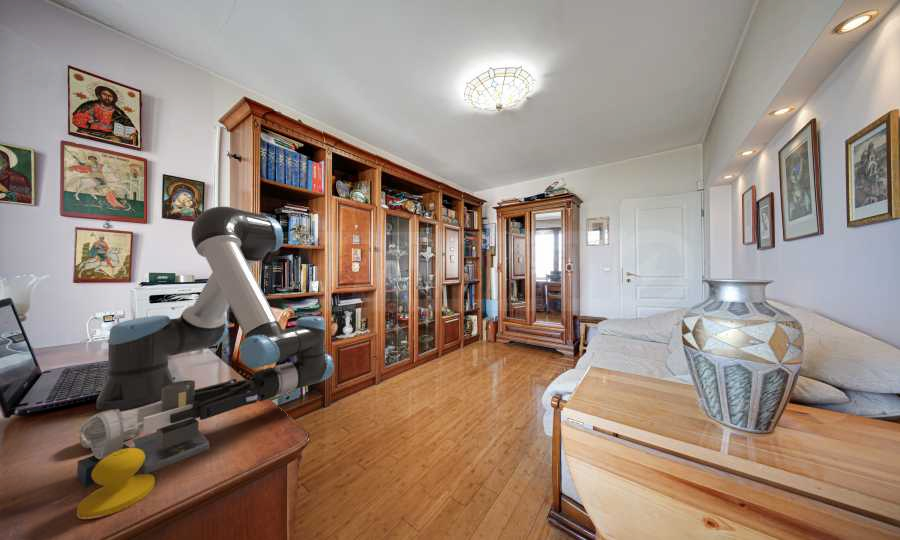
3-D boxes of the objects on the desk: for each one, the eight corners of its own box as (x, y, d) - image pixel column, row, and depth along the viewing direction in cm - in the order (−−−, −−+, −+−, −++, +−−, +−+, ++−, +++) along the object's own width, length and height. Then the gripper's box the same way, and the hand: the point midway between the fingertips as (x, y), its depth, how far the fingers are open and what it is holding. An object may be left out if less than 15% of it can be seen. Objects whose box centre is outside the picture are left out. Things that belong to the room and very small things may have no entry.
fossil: (162, 416, 64) (103, 419, 55) (145, 448, 62) (80, 456, 53) (143, 406, 67) (84, 408, 59) (126, 436, 65) (63, 442, 56)
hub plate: (131, 447, 57) (132, 429, 57) (189, 427, 65) (189, 411, 65) (145, 474, 49) (146, 454, 49) (209, 448, 57) (209, 431, 57)
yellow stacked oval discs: (123, 515, 41) (57, 524, 40) (167, 477, 49) (113, 483, 47) (125, 466, 41) (59, 472, 40) (168, 435, 49) (115, 440, 48)
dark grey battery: (156, 440, 55) (158, 386, 55) (190, 428, 60) (192, 378, 60) (162, 450, 52) (164, 392, 52) (198, 436, 56) (199, 383, 57)
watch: (119, 456, 54) (121, 401, 54) (136, 469, 51) (138, 410, 51) (72, 475, 49) (74, 414, 49) (88, 490, 46) (90, 424, 46)
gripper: (291, 405, 66) (150, 458, 46) (258, 387, 76) (131, 425, 57) (291, 374, 66) (151, 414, 47) (259, 360, 76) (132, 389, 57)
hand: (140, 420), depth 52 cm, fingers closed on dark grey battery, 5 cm apart
